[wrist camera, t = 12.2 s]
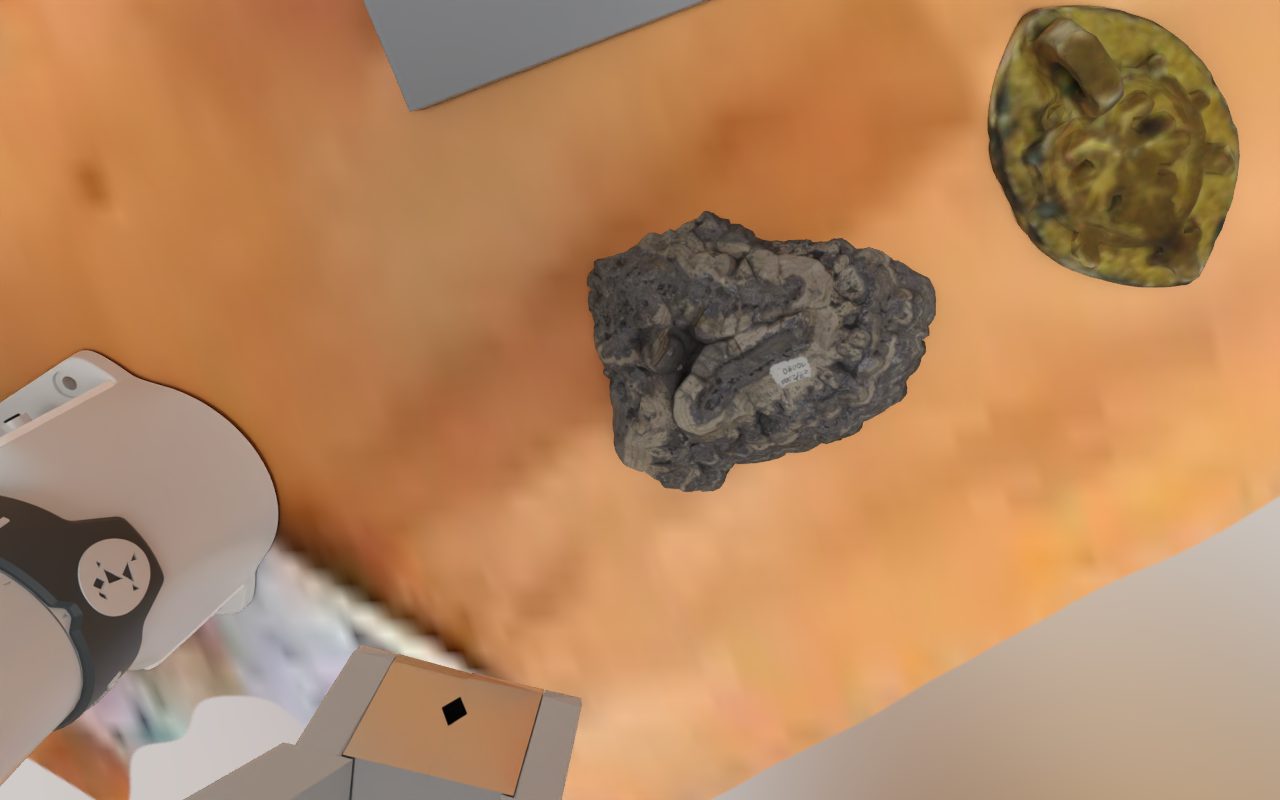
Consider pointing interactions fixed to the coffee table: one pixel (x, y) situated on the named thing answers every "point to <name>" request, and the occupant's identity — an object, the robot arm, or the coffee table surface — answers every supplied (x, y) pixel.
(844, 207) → the coffee table surface
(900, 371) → the fossil rock
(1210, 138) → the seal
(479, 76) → the dial board
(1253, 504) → the coffee table surface
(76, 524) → the robot arm
